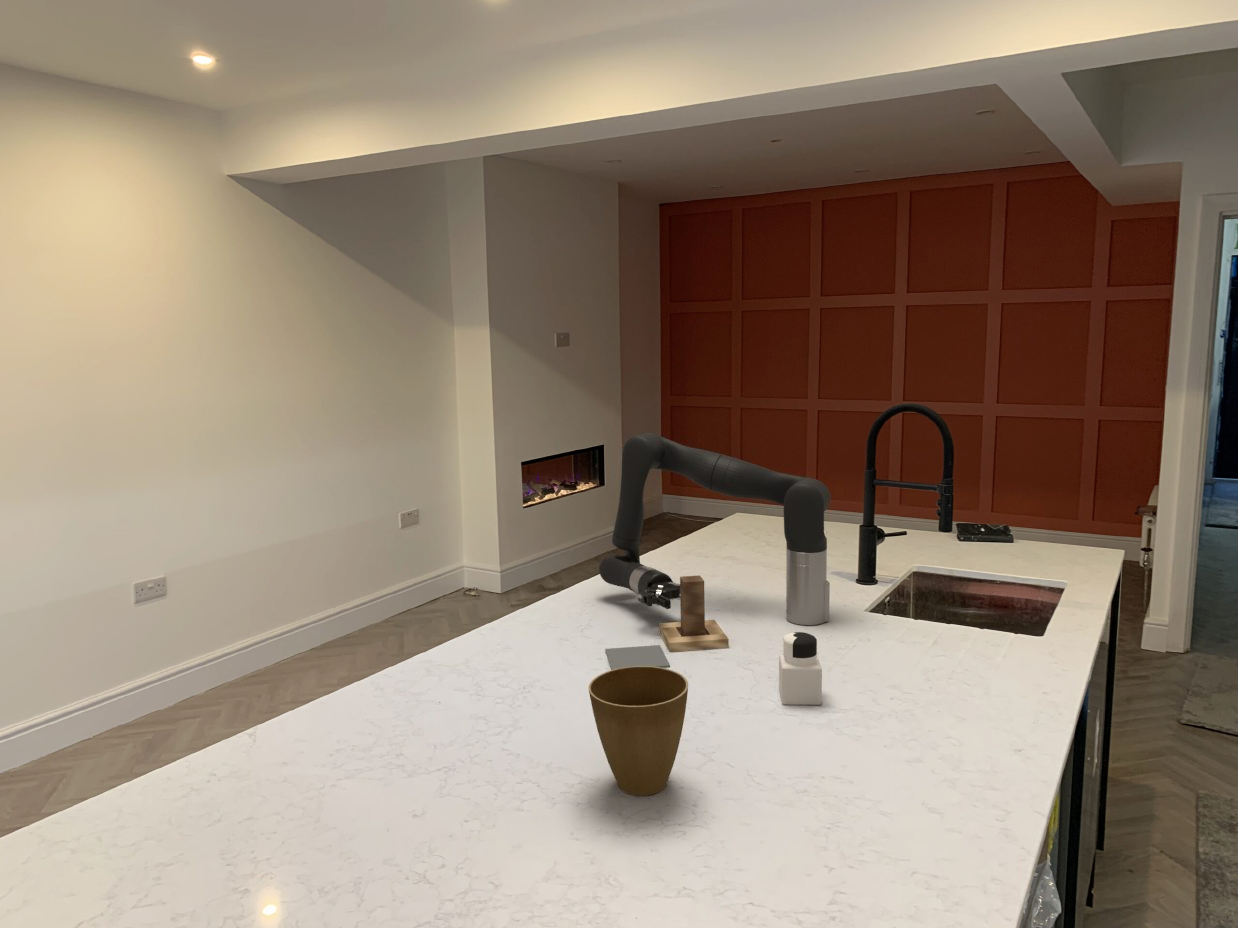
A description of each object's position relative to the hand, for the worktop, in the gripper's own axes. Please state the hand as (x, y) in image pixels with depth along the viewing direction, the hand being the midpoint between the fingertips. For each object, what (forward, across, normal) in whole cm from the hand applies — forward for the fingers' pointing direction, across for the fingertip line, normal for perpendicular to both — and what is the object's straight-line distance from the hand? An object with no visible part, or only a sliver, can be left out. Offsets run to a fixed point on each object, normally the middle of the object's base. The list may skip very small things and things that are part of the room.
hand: (686, 601), depth 194 cm
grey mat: (+6, -16, +8) cm, 19 cm away
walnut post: (+3, 0, +8) cm, 8 cm away
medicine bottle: (+39, +1, +8) cm, 40 cm away
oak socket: (+3, 0, +8) cm, 8 cm away
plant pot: (+52, -40, +8) cm, 66 cm away
